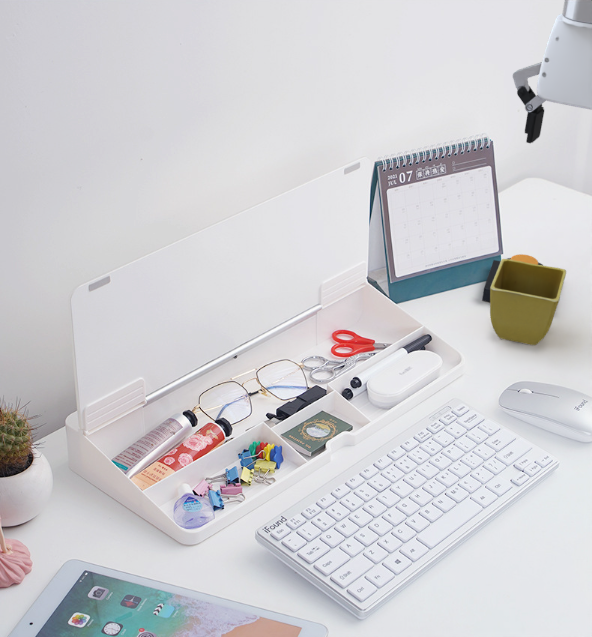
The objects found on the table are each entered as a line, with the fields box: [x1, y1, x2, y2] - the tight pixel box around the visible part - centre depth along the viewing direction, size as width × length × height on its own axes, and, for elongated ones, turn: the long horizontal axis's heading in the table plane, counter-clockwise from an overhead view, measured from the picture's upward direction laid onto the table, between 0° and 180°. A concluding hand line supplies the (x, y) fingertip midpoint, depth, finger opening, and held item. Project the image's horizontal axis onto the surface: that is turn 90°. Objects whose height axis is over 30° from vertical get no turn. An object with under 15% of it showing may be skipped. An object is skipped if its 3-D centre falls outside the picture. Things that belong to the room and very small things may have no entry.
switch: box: [481, 257, 543, 303], centre depth 119 cm, size 10×9×4 cm
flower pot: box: [489, 258, 567, 346], centre depth 109 cm, size 9×9×9 cm
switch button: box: [510, 253, 539, 265], centre depth 118 cm, size 4×4×2 cm
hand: (569, 147), depth 102 cm, fingers open, 9 cm apart
